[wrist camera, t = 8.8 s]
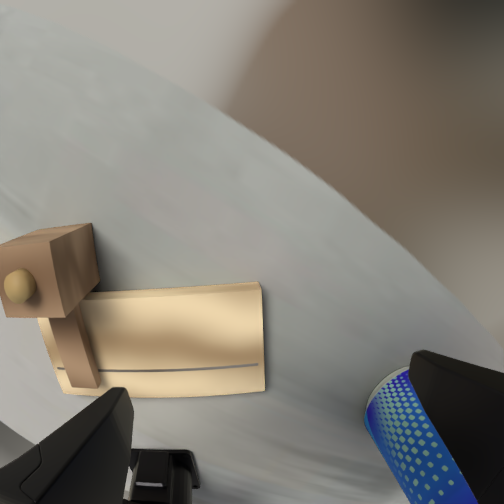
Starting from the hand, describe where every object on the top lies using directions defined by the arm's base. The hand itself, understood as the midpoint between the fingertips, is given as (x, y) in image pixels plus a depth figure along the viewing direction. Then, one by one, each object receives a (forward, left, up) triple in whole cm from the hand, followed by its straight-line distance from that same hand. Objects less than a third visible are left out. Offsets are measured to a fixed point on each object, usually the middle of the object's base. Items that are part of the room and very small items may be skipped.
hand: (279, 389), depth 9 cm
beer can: (-14, -14, -13) cm, 24 cm away
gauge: (-2, +12, -13) cm, 17 cm away
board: (-5, +7, -12) cm, 15 cm away
